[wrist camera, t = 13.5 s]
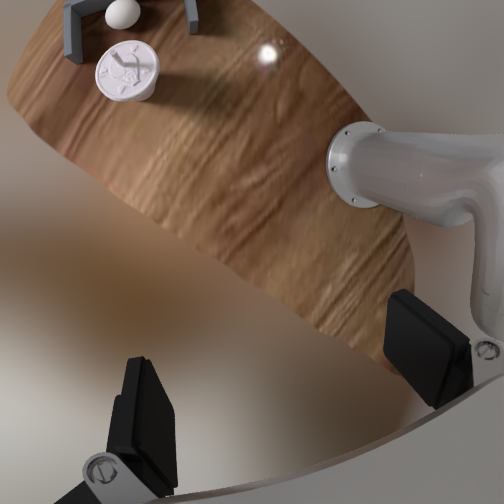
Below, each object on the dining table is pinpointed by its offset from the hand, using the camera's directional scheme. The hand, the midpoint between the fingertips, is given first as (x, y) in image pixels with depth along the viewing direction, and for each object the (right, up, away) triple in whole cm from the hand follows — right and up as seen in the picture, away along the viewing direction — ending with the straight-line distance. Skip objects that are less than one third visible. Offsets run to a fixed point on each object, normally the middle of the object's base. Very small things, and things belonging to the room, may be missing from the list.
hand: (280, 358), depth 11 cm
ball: (-17, +33, +15) cm, 40 cm away
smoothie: (-15, +24, +21) cm, 35 cm away
